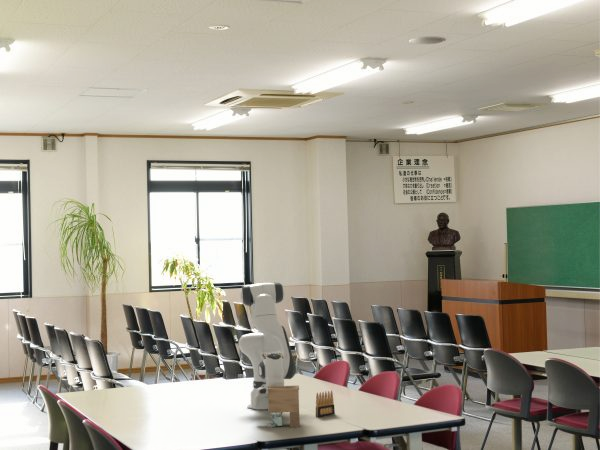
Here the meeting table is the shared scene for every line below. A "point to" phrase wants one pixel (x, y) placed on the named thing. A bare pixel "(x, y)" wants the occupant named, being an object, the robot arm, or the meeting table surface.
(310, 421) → the meeting table surface
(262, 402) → the robot arm
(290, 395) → the wooden l-shaped block
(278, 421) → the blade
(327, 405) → the ammunition clip
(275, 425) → the token
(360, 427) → the meeting table surface
